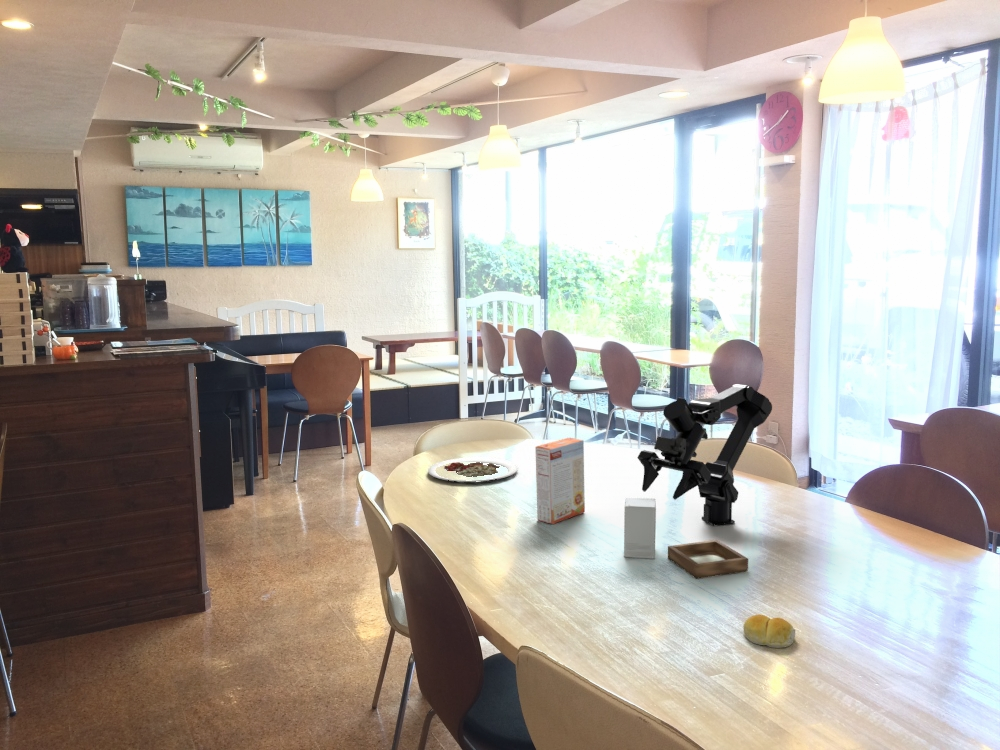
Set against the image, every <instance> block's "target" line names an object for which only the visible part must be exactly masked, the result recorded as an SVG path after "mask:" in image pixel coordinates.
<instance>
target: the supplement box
mask: <svg viewBox="0 0 1000 750" xmlns="http://www.w3.org/2000/svg"><path fill="white" fill-rule="evenodd" d="M624 500H625V501H624V511H623V512H624V514H623V515H624V520H623V521H624V522H623V524H624V526H623V527H624V528H623V529H624V532H623V533H624V534H623V541H624V542H623V554H624V555H623V557H624V558H634V559H635V558H636V559H649V560H650V559H655V558H656V529H657V527H656V524H657V521H656V519H657V506H656V498H647V497H646V498H645V497H644V498H642V497H625V499H624Z"/></svg>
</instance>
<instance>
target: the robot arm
mask: <svg viewBox="0 0 1000 750" xmlns="http://www.w3.org/2000/svg"><path fill="white" fill-rule="evenodd" d="M733 407H736V414H737V420H736V422H735V424H734V426H733V428H732V430H731V432H730V434H729V436H728V437H727V438H726V441H725V443H724V445H723V447H722V449H721V451H720V453H719V455H718V456H717V458H716V460H715V461H714V462H710V461H709V462H708V461H707V462H705V463H704V461H700V460H695V459H692V458H696V457H697V456H698V454H697V452H696V450H697V448H698V447H699V444H700V442H701V440H708V438H709V437H708V433H707V429H706V427H703V426H702V425H708V426H713V425H714V424H715V423H716V422H718V421H719V420H720V419H721V418H722V414H723V413H724V412H726V411H728V410H730V409H732V408H733ZM772 411H773V404H772V402H771V401H770V399H769V398H768V397H767V396H766V395H764V394H762V393H760V391H757V390H755V389H754V388H753V386H751V385H748V384H741V383H740V384H739V383H736V384H733V385H732V386H731V387H729V388H726V389H725V390H723V391H721V392H719V393H717V394H715V395H712V396H711V397H708V398H696V399H693V400H691V401H689V402H688V401H687V399H686V398H684V397H683V398H682V397H677V399H676V400H675V401H672V402H670V403H669V404H667V405H666V406H665V407H664V409H663V416H664V417H665V419H666V420H667V422H668V423H669V425H670V426H671V427H672V428H673V429H672V430H674V431H676V432H677V434H676V436H675V438H672V437H671V438H668V437H663V436H657V437H656V440H655V444H654V448H653V449H654V450H658V451H660V455H661V457H664V459H663V458H660V457H659V456H658V454H657V453H656V452H655V451H650V450H645V449H643V450H641V451H640V452H639V454H638V455H637V459H638V461H639V462H640V464H642V466H643V481H642V486H641V487H642V488H641V490H642V491H643V492H646V491H648V489H649V488H651V485H653V483H654V481H655V480H656V479H657V478H658V476H659V475H660V473H659V472H660V471H661V470H662V469H663V468H666V469H670V470H674V471H678V472H679V471H680V472H682V477H681V479H680V481H679V483H678V484H677V486H676V489H675V490H674V493H673V495H672V498H673V500H677V499H679V498H680V497H681V496H684V495H685V494H686V493H688V492H689V491H691V490H693V489H694V488H696V487H697V488H698V492H699V497H700V498H704V504H703V515H702V516H701V519H702V520H704V522H705V521H706V522H707V523H708V524H710V525H712V526H721V525H730V524H735V522H736V521H735V520H734V519H732V516H733V515H732V513H733V512H732V511H733V508H732V507H733V504H735V503H736V501H737V500H738V497H739V491H738V490H737V488H736V487H735V485H734V482H735V479H734V469H735V467H736V465H737V463H738V461H739V459H740V457H741V455H742V454H743V451H744V450H745V447H747V446H746V445H747V444H748V442H749V440H750V438H751V436H752V434H753V432H754V430H755V429H756V428H757V427H760V426H761V425H762V424H764V423H765V422H766V420H767V419H768V417H769V416H770V415H771V413H772Z"/></svg>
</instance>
